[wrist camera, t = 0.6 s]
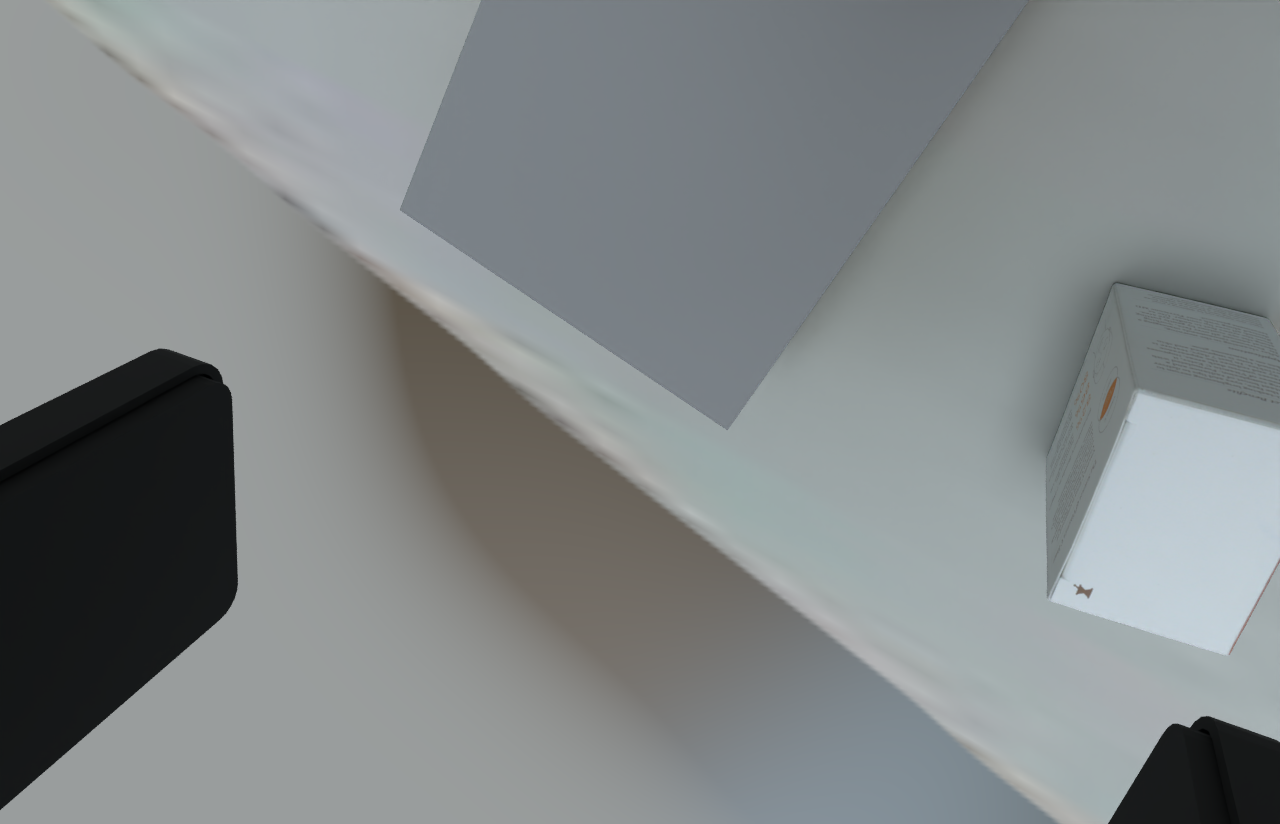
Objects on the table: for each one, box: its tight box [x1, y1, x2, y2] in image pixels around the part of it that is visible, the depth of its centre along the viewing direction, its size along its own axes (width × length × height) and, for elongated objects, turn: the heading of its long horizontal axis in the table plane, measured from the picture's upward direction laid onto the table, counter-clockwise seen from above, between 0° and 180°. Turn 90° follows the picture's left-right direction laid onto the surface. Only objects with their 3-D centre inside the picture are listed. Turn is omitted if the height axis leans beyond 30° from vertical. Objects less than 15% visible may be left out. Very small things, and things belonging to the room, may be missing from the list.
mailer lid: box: [400, 0, 1029, 430], centre depth 31 cm, size 19×15×3 cm
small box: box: [1046, 283, 1280, 656], centre depth 34 cm, size 8×6×10 cm
